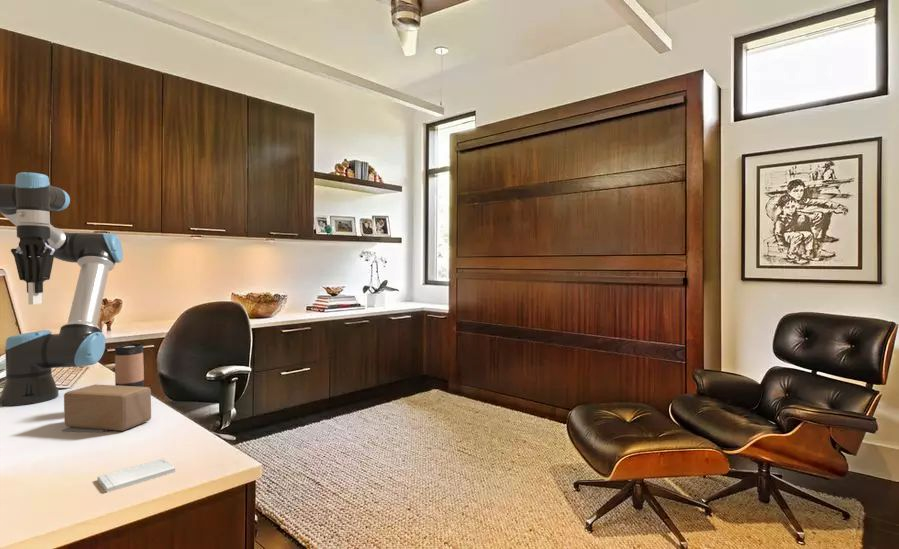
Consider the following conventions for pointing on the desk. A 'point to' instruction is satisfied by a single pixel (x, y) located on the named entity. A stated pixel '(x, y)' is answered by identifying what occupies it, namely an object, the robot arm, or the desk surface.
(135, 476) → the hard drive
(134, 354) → the travel mug
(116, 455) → the desk surface
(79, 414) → the block
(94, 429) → the mat
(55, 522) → the desk surface
